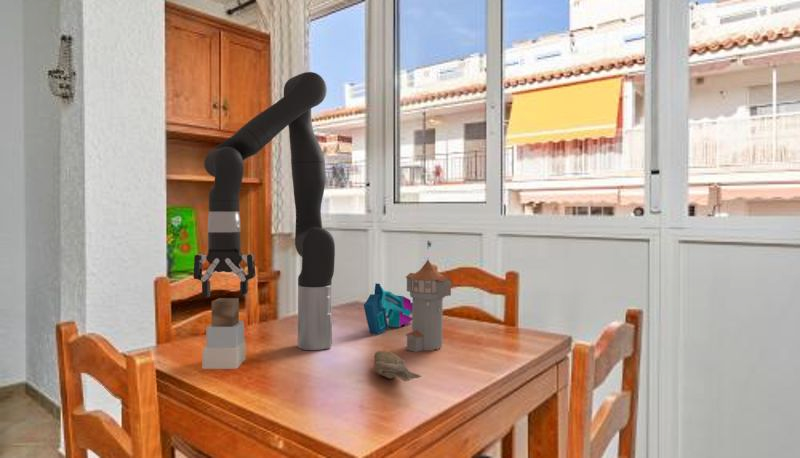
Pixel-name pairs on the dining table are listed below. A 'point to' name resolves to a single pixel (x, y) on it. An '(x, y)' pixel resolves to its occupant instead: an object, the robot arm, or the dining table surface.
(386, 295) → the toy gun
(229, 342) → the tower top
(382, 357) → the sculpture
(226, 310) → the walnut block
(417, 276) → the model building
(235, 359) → the tower base
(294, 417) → the dining table surface
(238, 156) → the robot arm
